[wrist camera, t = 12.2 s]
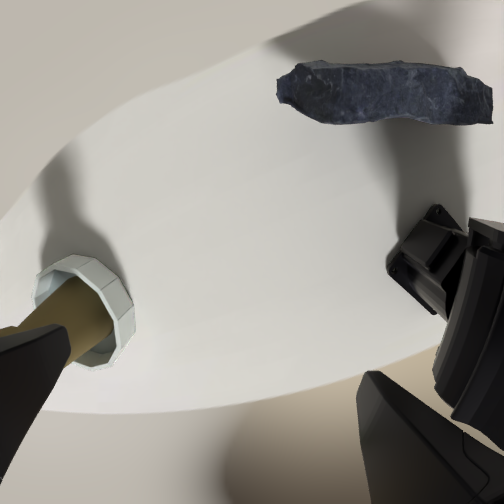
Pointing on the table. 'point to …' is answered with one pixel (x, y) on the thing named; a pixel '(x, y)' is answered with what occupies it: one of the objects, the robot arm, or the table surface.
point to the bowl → (110, 296)
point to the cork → (71, 316)
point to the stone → (386, 93)
